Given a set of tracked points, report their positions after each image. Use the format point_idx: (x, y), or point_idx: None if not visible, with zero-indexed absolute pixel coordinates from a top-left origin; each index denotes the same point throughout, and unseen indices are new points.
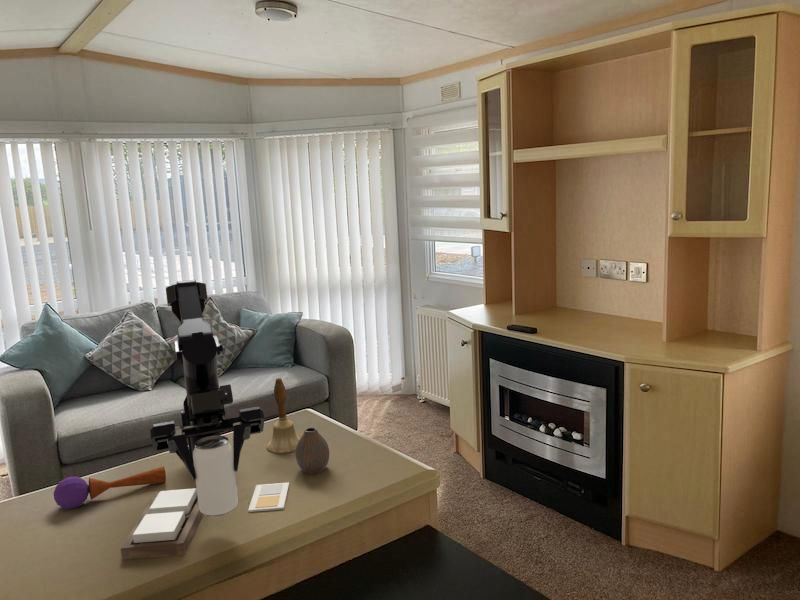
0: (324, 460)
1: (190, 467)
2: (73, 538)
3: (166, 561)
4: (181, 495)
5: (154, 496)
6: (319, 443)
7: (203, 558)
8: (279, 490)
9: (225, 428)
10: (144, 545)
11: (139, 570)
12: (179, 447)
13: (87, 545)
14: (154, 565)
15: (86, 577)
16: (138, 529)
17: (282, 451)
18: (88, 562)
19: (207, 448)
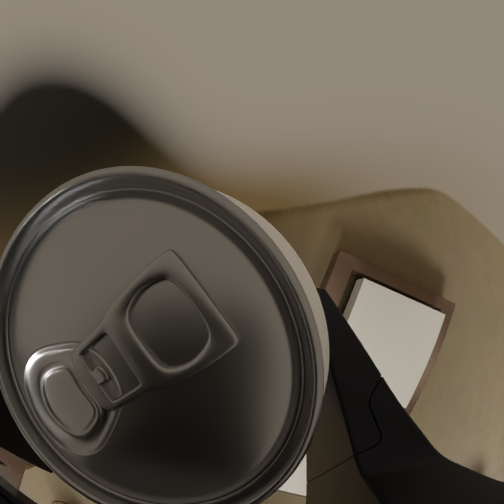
0: None
1: (340, 326)
2: (480, 417)
3: (370, 247)
4: (304, 467)
5: None
6: None
7: (297, 215)
8: None
9: (7, 490)
10: (417, 290)
11: (417, 243)
12: (434, 456)
13: (473, 386)
14: (392, 245)
15: (483, 272)
16: (433, 334)
17: None
18: (480, 323)
19: (183, 184)
